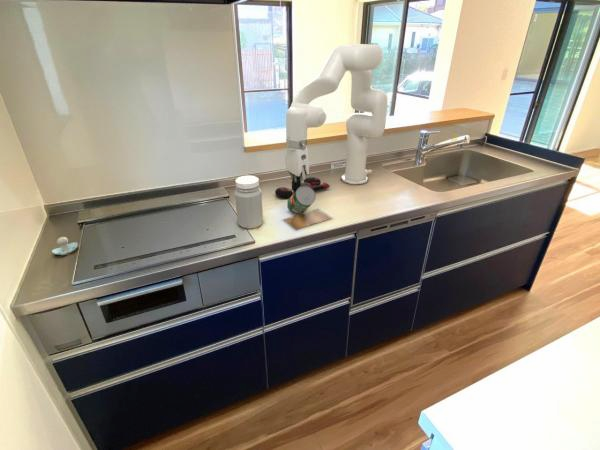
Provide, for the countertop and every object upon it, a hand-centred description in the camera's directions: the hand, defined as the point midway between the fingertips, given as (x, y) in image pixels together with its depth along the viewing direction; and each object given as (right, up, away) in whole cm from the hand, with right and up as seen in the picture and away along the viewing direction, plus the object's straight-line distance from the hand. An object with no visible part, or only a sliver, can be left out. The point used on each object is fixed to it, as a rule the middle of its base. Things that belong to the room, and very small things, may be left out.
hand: (296, 190), depth 134 cm
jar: (-17, -13, -2) cm, 22 cm away
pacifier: (-76, -23, -19) cm, 82 cm away
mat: (+4, -11, 0) cm, 12 cm away
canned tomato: (0, -6, +5) cm, 8 cm away
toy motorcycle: (+3, +1, +22) cm, 22 cm away
